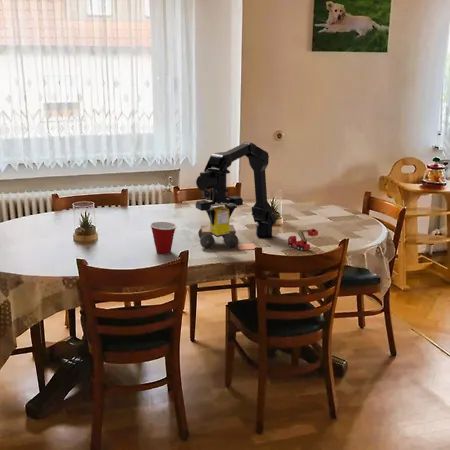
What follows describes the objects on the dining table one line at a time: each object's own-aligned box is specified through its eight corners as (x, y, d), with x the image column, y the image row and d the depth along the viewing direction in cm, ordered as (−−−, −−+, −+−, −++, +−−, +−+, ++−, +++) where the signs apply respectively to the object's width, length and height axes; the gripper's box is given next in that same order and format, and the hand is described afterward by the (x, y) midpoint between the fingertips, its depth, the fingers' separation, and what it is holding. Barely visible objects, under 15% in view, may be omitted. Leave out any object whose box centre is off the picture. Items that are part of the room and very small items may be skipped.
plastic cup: (179, 255, 219) (179, 226, 216) (153, 257, 216) (152, 228, 213) (175, 247, 229) (174, 219, 226) (149, 249, 226) (148, 221, 223)
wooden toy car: (234, 238, 241) (234, 223, 239) (238, 247, 229) (238, 232, 227) (198, 239, 239) (198, 224, 237) (200, 249, 227) (200, 233, 225)
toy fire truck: (291, 244, 234) (292, 222, 231) (317, 252, 225) (318, 229, 222) (286, 246, 232) (287, 224, 229) (312, 253, 222) (313, 231, 220)
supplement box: (222, 231, 225) (222, 205, 221) (229, 235, 220) (229, 209, 216) (209, 233, 222) (209, 207, 219) (216, 237, 217) (216, 211, 214)
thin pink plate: (253, 244, 234) (253, 243, 234) (255, 249, 227) (255, 248, 227) (237, 244, 233) (237, 244, 233) (239, 249, 226) (239, 249, 226)
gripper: (230, 179, 226) (230, 215, 230) (189, 184, 217) (190, 221, 222) (243, 184, 216) (243, 222, 221) (201, 190, 208) (202, 229, 213)
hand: (219, 223), depth 219 cm, fingers closed on supplement box, 6 cm apart
